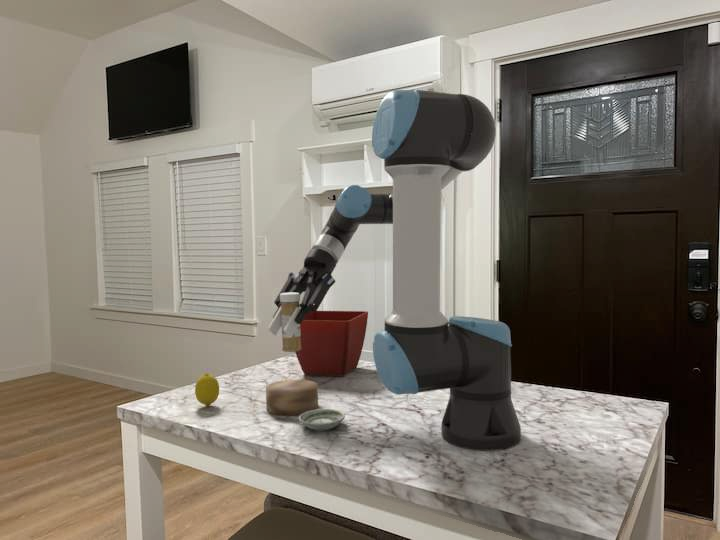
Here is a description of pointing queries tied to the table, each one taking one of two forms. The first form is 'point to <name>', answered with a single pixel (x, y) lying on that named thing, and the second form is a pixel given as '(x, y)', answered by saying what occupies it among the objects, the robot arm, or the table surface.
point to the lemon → (207, 389)
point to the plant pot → (331, 342)
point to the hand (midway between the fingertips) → (279, 332)
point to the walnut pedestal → (291, 397)
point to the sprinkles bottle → (287, 308)
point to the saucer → (321, 419)
